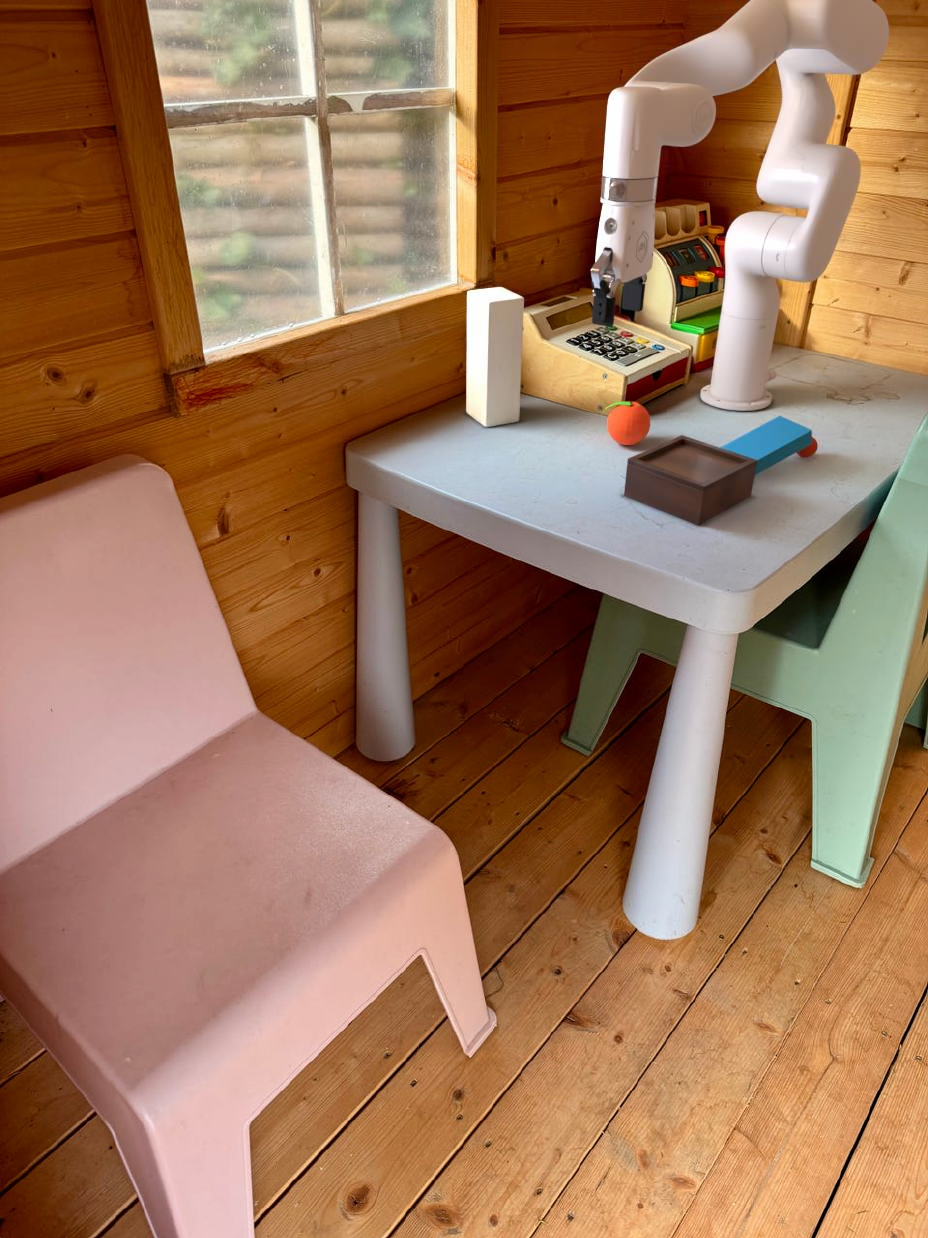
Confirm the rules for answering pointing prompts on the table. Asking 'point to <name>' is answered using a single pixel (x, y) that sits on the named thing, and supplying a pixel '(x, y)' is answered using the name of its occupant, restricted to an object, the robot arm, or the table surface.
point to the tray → (690, 479)
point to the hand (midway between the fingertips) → (617, 317)
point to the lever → (774, 443)
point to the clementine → (628, 423)
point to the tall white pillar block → (494, 355)
